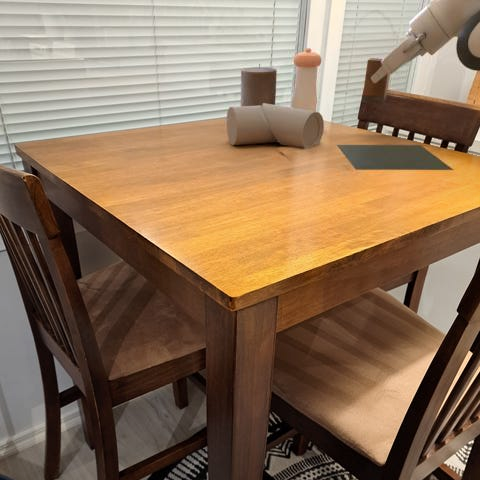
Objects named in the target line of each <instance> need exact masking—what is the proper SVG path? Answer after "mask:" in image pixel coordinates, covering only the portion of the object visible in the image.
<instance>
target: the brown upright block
mask: <svg viewBox="0 0 480 480" xmlns="http://www.w3.org/2000/svg"><path fill="white" fill-rule="evenodd" d="M382 60H383V58H378V57H377V58H375V57H370V58H369V59H367V64H366V69H365V76H364V84H363V91H362V99H361V103H369V104H380V105H384V104H385V102H386V101H387V95H388V88H389V84H390V77H391V74H389V73H388V74H386V75H385V76H384V77H382V78H381V79H380V80H379V81H378V82H377V83H373V81H372V80H371V76H372V75H374V74H375V73H376V72H377V71H378V70H379V68H380V67H381V66H382V63H381V61H382Z"/></svg>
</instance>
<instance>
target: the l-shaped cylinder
mask: <svg viewBox="0 0 480 480" xmlns="http://www.w3.org/2000/svg"><path fill="white" fill-rule="evenodd" d="M324 121H325V120H324V118H323V116H322V114H321V113H320V112H318V111H316V112H314V111H308V110H302V109H296V108H292V107H291V106H283V105H277V104H275V105H272V104H266V103H263V105H262V106H241V105H240V106H230V107H229V108H228V109H227V113H226V131H227V134H226V135H227V138H228V142H229V143H230V145H231V146H239V145H240V146H241V145H254V144H255V145H257V144H268V143H269V144H270V143H279V144H280V145H282V146H286V147H290V148H292V147H293V148H294V147H297V148H302V149H307V148H309V147H314V146H318V145H319V144H320V143H321V141H322V137H323V134H324V129H325V123H324Z"/></svg>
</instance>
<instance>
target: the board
mask: <svg viewBox="0 0 480 480" xmlns="http://www.w3.org/2000/svg"><path fill="white" fill-rule="evenodd" d="M336 147H338V149H339V150H340V152H341V153H342V154H343V155H344V157H345V158H346V160H348V162H349V164H351V166H352V167H353V168H354V169H355V170H356V171H358V170H359V171H381V170H382V171H454V168H452V167H451V166H449V165H448V164H447V163H445V162H444V161H443V160H441V159H440V158H439V157H438V156H436V155H435V154H434V153H432V152H431V151H430V150H428V149H427V148H425V147H424V146H423V145H422V144H336Z"/></svg>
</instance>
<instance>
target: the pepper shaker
mask: <svg viewBox="0 0 480 480" xmlns="http://www.w3.org/2000/svg"><path fill="white" fill-rule="evenodd" d="M293 64H294V66H296V67H295V80H294V81H295V82H294V87H293V88H294V89H293V93H292V98H291V108H296V109H302V110H308V111H314V112H317V106H318V105H317V104H318V91H317V82H318V81H317V80H318V69H319V68H318V67H320V66H321V64H322V56H321V54H319V53H317V52H315V51H312V49H311V48H309V47H306V48H305V49H304V51H300V52H298V53H297V54H295V56H294V59H293Z"/></svg>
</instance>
